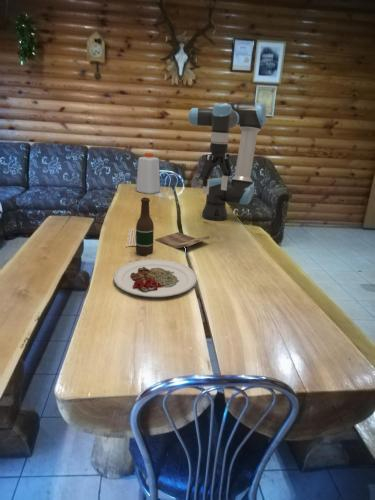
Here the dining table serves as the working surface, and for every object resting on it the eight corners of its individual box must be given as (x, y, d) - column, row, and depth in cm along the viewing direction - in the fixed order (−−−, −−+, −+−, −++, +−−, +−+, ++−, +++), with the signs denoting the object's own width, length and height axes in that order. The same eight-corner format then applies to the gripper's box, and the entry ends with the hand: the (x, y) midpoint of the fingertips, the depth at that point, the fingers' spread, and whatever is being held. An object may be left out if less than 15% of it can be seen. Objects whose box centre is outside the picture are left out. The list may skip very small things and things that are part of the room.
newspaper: (128, 231, 174) (128, 228, 174) (142, 232, 175) (142, 228, 175) (125, 249, 153) (125, 245, 152) (141, 249, 153) (141, 245, 153)
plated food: (194, 264, 140) (194, 257, 139) (198, 302, 112) (199, 293, 111) (120, 262, 139) (120, 254, 138) (106, 299, 111) (106, 290, 110)
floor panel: (178, 234, 173) (178, 232, 173) (196, 240, 166) (196, 238, 165) (155, 241, 162) (155, 239, 161) (173, 248, 155) (173, 246, 154)
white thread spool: (149, 195, 249) (150, 155, 239) (133, 191, 257) (133, 152, 246) (162, 191, 261) (163, 154, 251) (146, 188, 269) (147, 151, 258)
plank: (197, 240, 166) (196, 238, 165) (209, 238, 160) (209, 235, 160) (174, 248, 154) (173, 246, 154) (187, 246, 149) (186, 243, 148)
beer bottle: (156, 251, 151) (158, 197, 142) (148, 257, 144) (150, 201, 135) (140, 248, 153) (140, 195, 144) (132, 254, 146) (132, 198, 137)
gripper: (228, 141, 159) (224, 187, 166) (193, 142, 141) (190, 193, 149) (242, 143, 154) (237, 189, 162) (208, 144, 136) (204, 197, 144)
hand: (214, 191), depth 155 cm, fingers open, 13 cm apart
